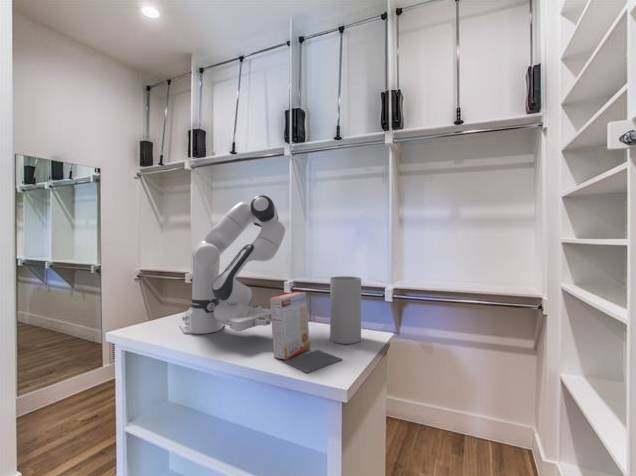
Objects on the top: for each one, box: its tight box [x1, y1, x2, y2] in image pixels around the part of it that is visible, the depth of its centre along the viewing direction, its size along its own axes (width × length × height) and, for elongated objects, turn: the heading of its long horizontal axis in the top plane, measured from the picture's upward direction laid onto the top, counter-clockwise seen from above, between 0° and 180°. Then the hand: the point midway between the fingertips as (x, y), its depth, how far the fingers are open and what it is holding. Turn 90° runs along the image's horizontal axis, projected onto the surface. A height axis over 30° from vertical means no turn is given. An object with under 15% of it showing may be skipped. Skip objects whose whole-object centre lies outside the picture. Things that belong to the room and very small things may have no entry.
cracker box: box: [269, 291, 311, 361], centre depth 116 cm, size 14×6×21 cm, turn 145°
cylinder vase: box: [329, 275, 362, 345], centre depth 132 cm, size 12×12×25 cm
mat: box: [282, 349, 343, 374], centre depth 109 cm, size 12×16×1 cm
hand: (268, 322), depth 122 cm, fingers closed
